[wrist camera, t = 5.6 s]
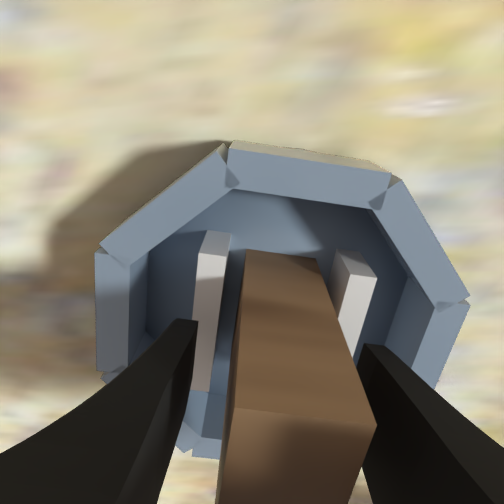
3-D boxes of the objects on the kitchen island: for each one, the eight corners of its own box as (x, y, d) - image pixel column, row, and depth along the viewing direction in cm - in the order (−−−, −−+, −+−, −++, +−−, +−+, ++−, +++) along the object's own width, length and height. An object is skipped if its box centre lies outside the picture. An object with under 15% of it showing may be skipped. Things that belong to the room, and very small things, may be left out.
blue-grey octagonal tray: (375, 425, 16) (394, 480, 14) (121, 393, 16) (97, 445, 13) (468, 174, 12) (519, 192, 10) (125, 121, 11) (92, 127, 9)
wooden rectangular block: (293, 352, 14) (324, 566, 8) (231, 344, 14) (209, 554, 8) (315, 258, 13) (376, 425, 6) (246, 248, 12) (234, 407, 6)
